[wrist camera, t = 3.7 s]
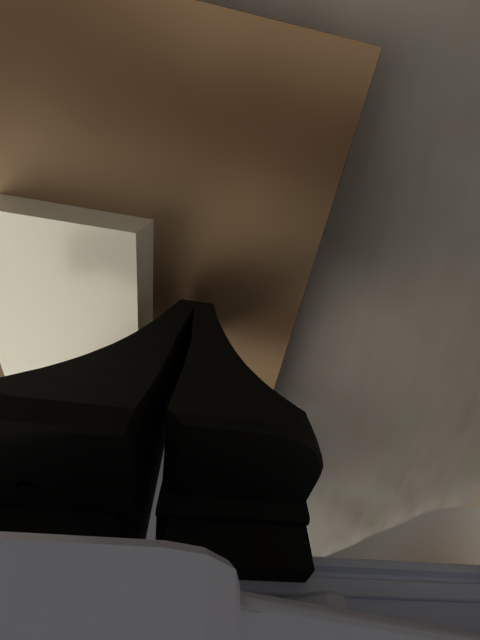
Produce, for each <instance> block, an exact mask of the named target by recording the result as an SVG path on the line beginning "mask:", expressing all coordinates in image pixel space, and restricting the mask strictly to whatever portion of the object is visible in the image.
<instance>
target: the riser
mask: <svg viewBox="0 0 480 640" xmlns="http://www.w3.org/2000/svg"><path fill="white" fill-rule="evenodd" d="M381 49H382V47H380V46H376V45H372V44H368V43H364V42H360V41H356V40H352V39H348V38H344V37H341V36H337V35H333V34H329V33H325V32H321V31H317V30H313V29H309V28H305V27H301V26H297V25H293V24H289V23H285V22H281V21H277V20H273V19H269V18H265V17H261V16H257V15H253V14H249V13H245V12H241V11H237V10H233V9H230V8H226V7H222V6H218V5H214V4H210V3H206V2H202V1H198V0H0V194H5V195H11V196H17V197H23V198H29V199H35V200H40V201H46V202H52V203H58V204H64V205H70V206H76V207H82V208H88V209H94V210H100V211H106V212H112V213H118V214H123V215H129V216H135V217H141V218H147V219H153V220H154V231H153V320H155V319H156V318H157V317H159V316H160V315H161V314H163V313H164V312H165V311H166V310H168V309H169V308H170V307H171V306H173V305H174V304H175V303H176V302H177V301H179V300H180V299H184V300H191V301H197V302H204V303H211V304H213V305H214V306H215V311H216V314H217V317H218V320H219V322H220V325H221V327H222V329H223V331H224V333H225V335H226V336H227V338H228V340H229V342H230V343H231V345H232V346H233V348H234V349H235V351H236V352H237V354H238V355H239V356H240V358H241V359H242V360H243V361H244V363H245V364H246V365H247V366H248V367H249V368H250V369H251V370H252V371H253V372H254V373H255V374H256V375H257V376H258V377H259V378H260V379H261V380H262V381H263V382H265V383H266V384H267V385H268V386H269V387H271V388H272V389H273V390H274V387H275V384H276V381H277V378H278V374H279V371H280V368H281V365H282V362H283V359H284V355H285V352H286V349H287V346H288V343H289V340H290V336H291V333H292V330H293V327H294V324H295V321H296V317H297V314H298V311H299V308H300V305H301V302H302V299H303V295H304V292H305V289H306V286H307V283H308V280H309V276H310V273H311V270H312V267H313V264H314V261H315V257H316V254H317V251H318V248H319V245H320V242H321V238H322V235H323V232H324V229H325V226H326V223H327V220H328V216H329V213H330V210H331V207H332V204H333V201H334V197H335V194H336V191H337V188H338V185H339V182H340V178H341V175H342V172H343V169H344V166H345V163H346V159H347V156H348V153H349V150H350V147H351V144H352V141H353V137H354V134H355V131H356V128H357V125H358V122H359V118H360V115H361V112H362V109H363V106H364V103H365V99H366V96H367V93H368V90H369V87H370V84H371V80H372V77H373V74H374V71H375V68H376V65H377V62H378V58H379V55H380V52H381ZM4 376H5V375H4V373H3V370H2V367H1V364H0V377H4Z"/></svg>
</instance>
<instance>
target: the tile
mask: <svg viewBox="0 0 480 640" xmlns="http://www.w3.org/2000/svg"><path fill="white" fill-rule="evenodd" d="M153 231H154V220H153V219H147V218H141V217H135V216H129V215H123V214H118V213H112V212H106V211H100V210H94V209H88V208H82V207H76V206H70V205H64V204H58V203H52V202H46V201H40V200H35V199H29V198H23V197H17V196H11V195H5V194H0V364H1V367H2V370H3V373H4V375H5V376H8V375H12V374H17V373H21V372H25V371H30V370H34V369H39V368H43V367H46V366H50V365H54V364H57V363H60V362H64V361H67V360H70V359H73V358H76V357H80V356H83V355H85V354H88V353H91V352H93V351H96V350H98V349H101V348H103V347H106V346H108V345H111V344H113V343H115V342H117V341H119V340H121V339H123V338H125V337H127V336H129V335H131V334H133V333H135V332H136V331H138V330H140V329H141V328H143V327H144V326H146V325H147V324H149V323H150V322H152V321H153Z"/></svg>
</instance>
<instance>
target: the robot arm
mask: <svg viewBox="0 0 480 640" xmlns="http://www.w3.org/2000/svg"><path fill="white" fill-rule="evenodd" d="M322 469H323V461H322V455H321V452H320V448H319V445H318V442H317V439H316V436H315V434H314V431H313V429H312V426H311V424H310V422H309V420H308V417H307V415H306V413H305V412H304V411H303V410H301V409H300V408H298V407H297V406H295V405H294V404H292V403H291V402H289V401H288V400H287V399H285V398H284V397H282V396H281V395H279V394H278V393H277V392H276V391H274V390H273V389H272V388H271V387H269V386H268V385H267V384H266V383H265V382H263V381H262V380H261V379H260V378H259V377H258V376H257V375H256V374H255V373H254V372H253V371H252V370H251V369H250V368H249V367H248V366H247V365H246V364H245V363H244V361H243V360H242V359H241V358H240V356H239V355H238V354H237V352H236V351H235V349H234V348H233V346H232V345H231V343H230V342H229V340H228V338H227V336H226V335H225V333H224V331H223V329H222V327H221V325H220V322H219V320H218V317H217V314H216V311H215V306H214V305H213V304H211V303H204V302H197V301H191V300H184V299H180V300H179V301H177V302H176V303H175V304H174V305H173V306H171V307H170V308H169V309H168V310H166V311H165V312H164V313H163V314H161V315H160V316H159V317H157V318H156V319H155V320H153V321H152V322H150V323H149V324H147V325H146V326H144V327H143V328H141V329H140V330H138V331H136V332H135V333H133V334H131V335H129V336H127V337H125V338H123V339H121V340H119V341H117V342H115V343H113V344H111V345H108V346H106V347H103V348H101V349H98V350H96V351H93V352H91V353H88V354H85V355H83V356H80V357H76V358H73V359H70V360H67V361H64V362H60V363H57V364H54V365H50V366H46V367H43V368H39V369H34V370H30V371H25V372H21V373H17V374H12V375H8V376H4V377H0V640H480V565H468V564H466V565H465V564H449V563H429V562H428V563H427V562H409V561H390V560H371V559H352V558H350V559H349V558H332V557H313V556H312V553H311V548H310V543H309V538H308V533H307V528H306V525H307V526H308V524H309V521H310V517H309V512H308V507H307V503H306V500H307V499H308V497H309V495H310V493H311V491H312V490H313V488H314V486H315V484H316V483H317V481H318V479H319V477H320V475H321V472H322Z"/></svg>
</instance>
